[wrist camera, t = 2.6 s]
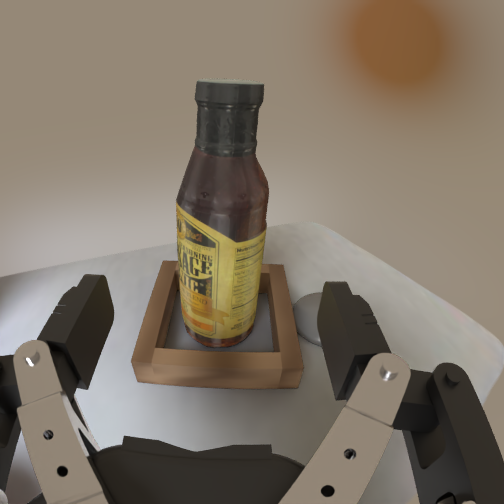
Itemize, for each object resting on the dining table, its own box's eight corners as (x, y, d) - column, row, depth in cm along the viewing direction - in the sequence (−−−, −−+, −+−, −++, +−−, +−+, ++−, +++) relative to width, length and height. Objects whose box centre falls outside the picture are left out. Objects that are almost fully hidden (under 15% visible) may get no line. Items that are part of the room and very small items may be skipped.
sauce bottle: (174, 313, 29) (163, 79, 18) (235, 297, 31) (247, 79, 21) (200, 364, 24) (193, 79, 14) (269, 341, 27) (300, 84, 16)
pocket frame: (137, 381, 22) (130, 361, 20) (165, 280, 33) (163, 260, 31) (297, 388, 22) (303, 367, 21) (280, 284, 34) (283, 264, 32)
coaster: (297, 349, 26) (298, 344, 26) (287, 296, 32) (288, 292, 32) (373, 346, 26) (375, 341, 26) (353, 297, 32) (354, 292, 32)
